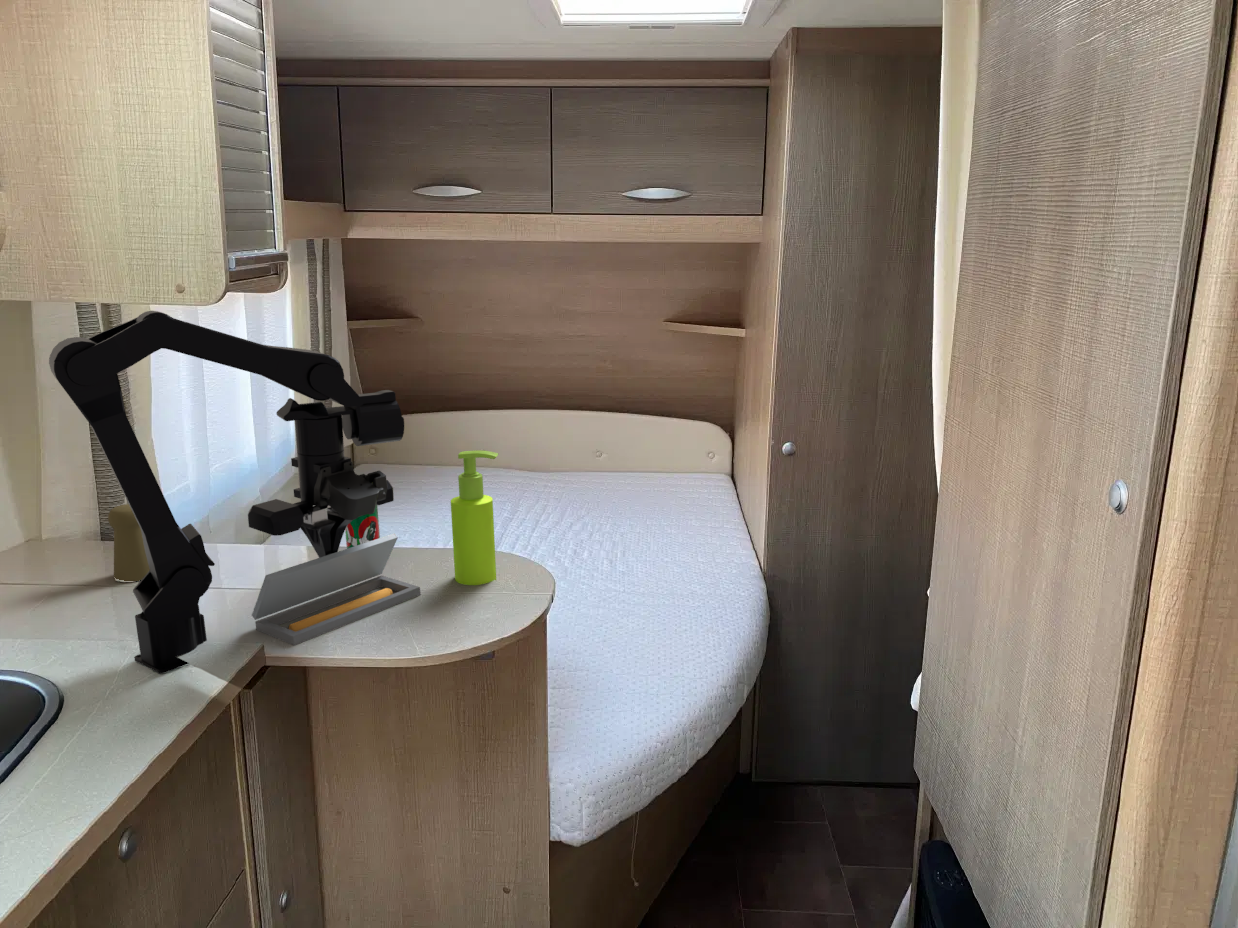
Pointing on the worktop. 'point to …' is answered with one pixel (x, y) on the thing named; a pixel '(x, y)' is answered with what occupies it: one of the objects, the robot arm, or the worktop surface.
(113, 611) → the worktop surface
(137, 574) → the cork
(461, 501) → the soap dispenser
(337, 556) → the cover
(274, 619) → the grey rectangular tray
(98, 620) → the worktop surface
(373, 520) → the soda can
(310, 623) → the orange rounded rod
